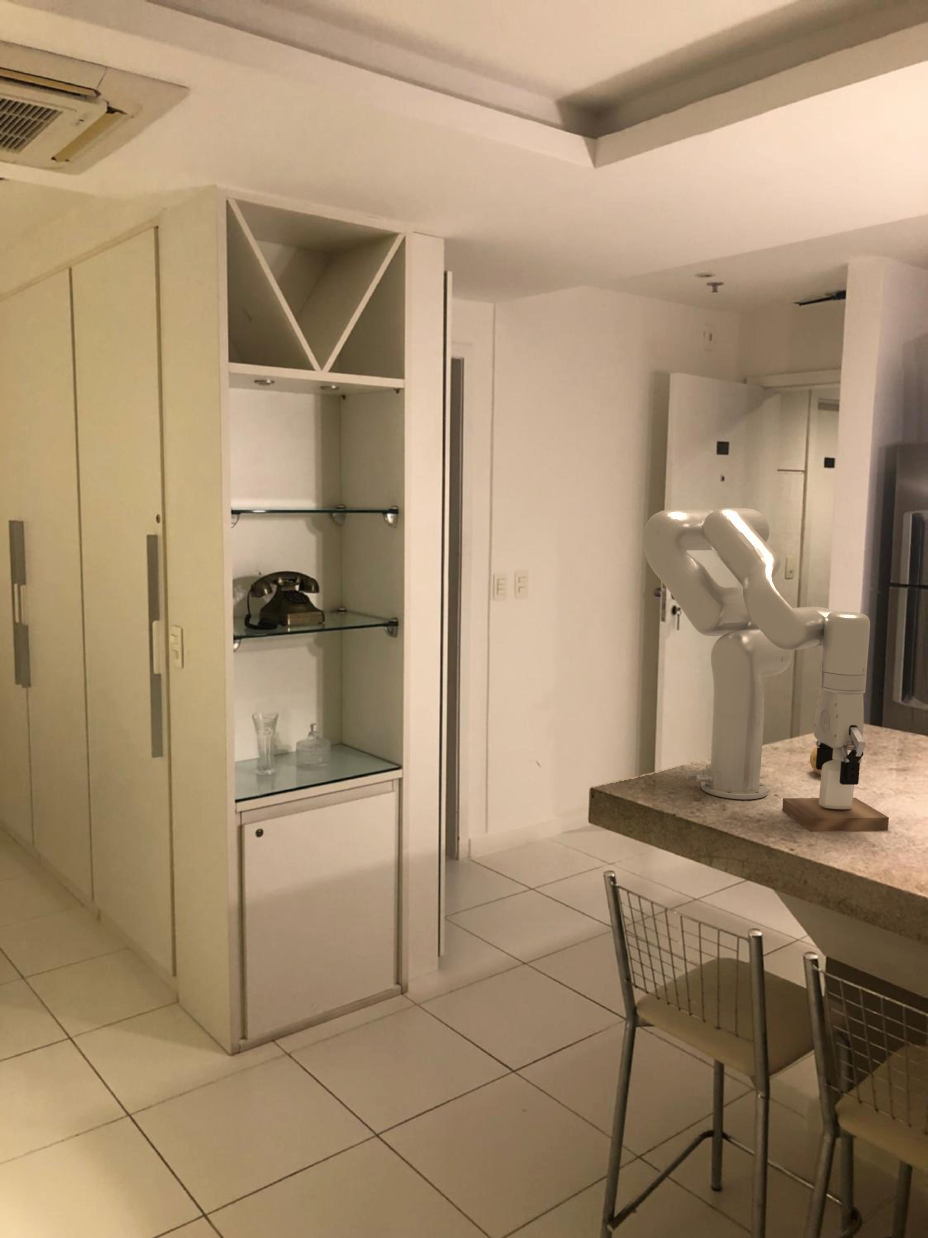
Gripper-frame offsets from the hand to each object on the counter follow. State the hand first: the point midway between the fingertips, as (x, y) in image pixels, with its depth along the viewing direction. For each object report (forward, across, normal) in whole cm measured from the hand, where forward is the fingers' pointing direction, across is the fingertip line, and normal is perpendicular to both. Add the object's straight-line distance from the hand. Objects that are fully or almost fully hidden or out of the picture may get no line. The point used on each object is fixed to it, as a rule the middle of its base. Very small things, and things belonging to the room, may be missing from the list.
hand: (836, 776), depth 182 cm
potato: (+8, -30, +12) cm, 33 cm away
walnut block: (+9, 0, 0) cm, 9 cm away
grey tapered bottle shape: (+6, 0, 0) cm, 6 cm away
